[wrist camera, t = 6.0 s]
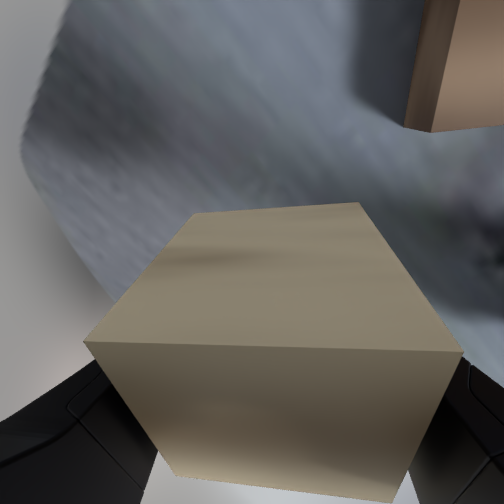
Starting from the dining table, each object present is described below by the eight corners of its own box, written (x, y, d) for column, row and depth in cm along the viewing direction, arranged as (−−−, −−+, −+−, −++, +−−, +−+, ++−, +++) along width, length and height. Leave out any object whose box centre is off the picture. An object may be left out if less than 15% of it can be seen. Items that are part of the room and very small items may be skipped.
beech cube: (345, 325, 11) (392, 503, 6) (221, 323, 12) (175, 476, 7) (358, 202, 8) (464, 351, 3) (193, 213, 9) (82, 341, 4)
